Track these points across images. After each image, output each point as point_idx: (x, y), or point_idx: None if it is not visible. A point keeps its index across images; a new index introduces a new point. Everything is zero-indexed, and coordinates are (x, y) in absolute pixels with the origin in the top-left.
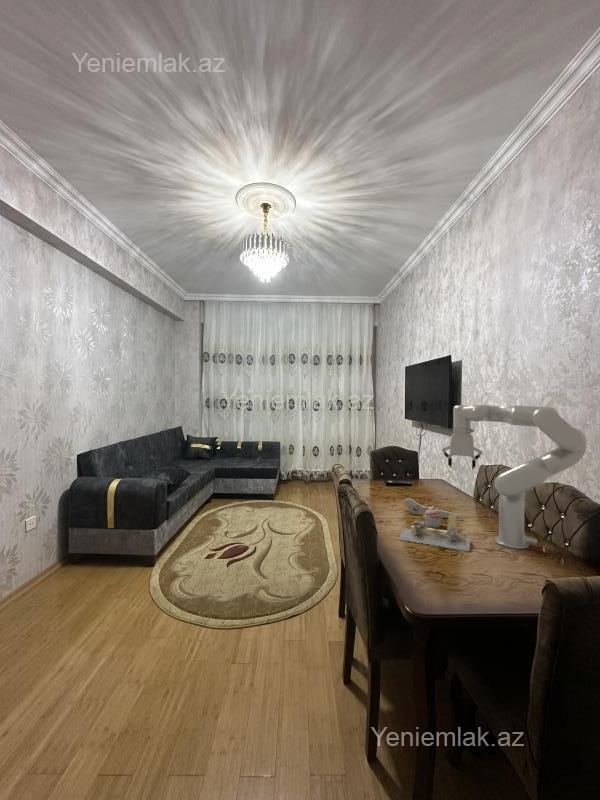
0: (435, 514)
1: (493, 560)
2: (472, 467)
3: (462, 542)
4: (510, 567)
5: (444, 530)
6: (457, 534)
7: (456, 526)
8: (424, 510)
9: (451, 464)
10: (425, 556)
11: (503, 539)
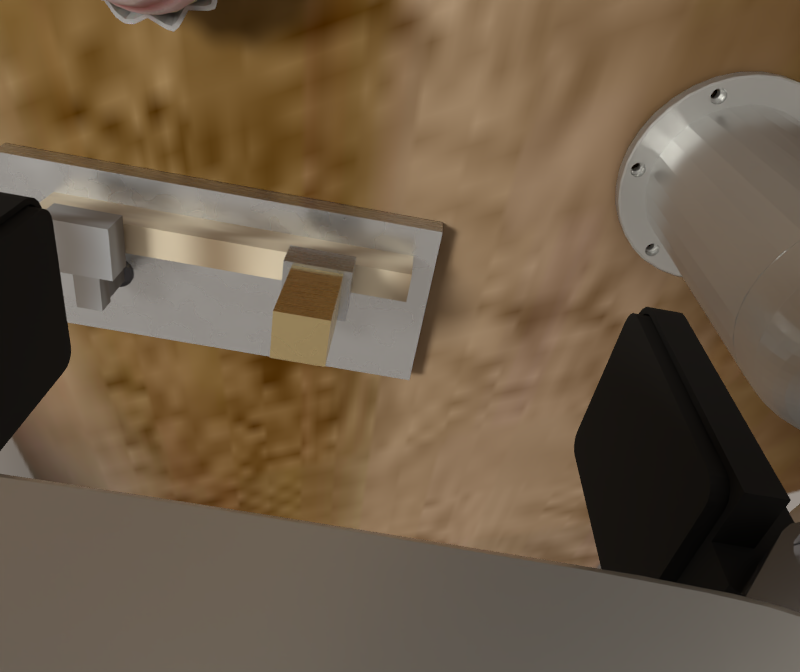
0: (157, 5)
1: (505, 431)
2: (588, 474)
3: (382, 313)
4: (557, 475)
5: (268, 254)
6: (353, 289)
7: (344, 274)
8: None
9: (25, 324)
10: (205, 456)
11: (659, 240)
